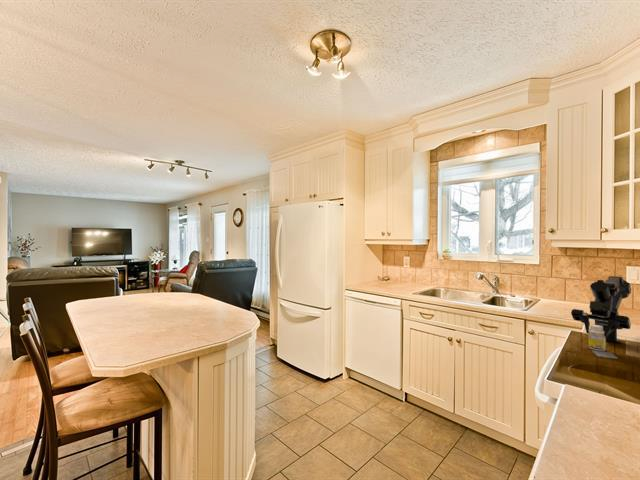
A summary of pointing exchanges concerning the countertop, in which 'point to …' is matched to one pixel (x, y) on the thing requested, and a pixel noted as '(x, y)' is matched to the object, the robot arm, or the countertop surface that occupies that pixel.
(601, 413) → the countertop surface
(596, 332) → the supplement bottle
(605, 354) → the slate coaster
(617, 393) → the countertop surface
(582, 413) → the countertop surface
